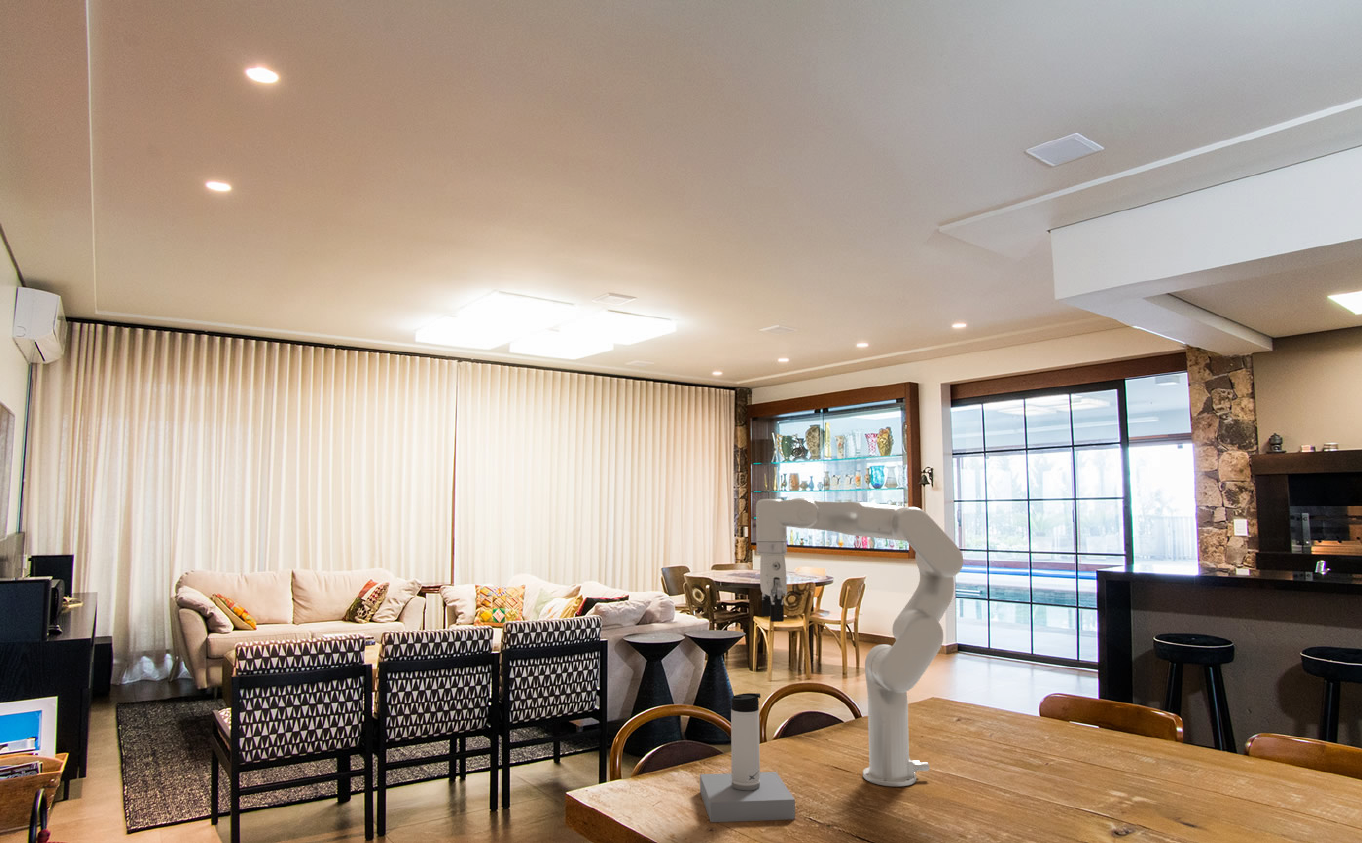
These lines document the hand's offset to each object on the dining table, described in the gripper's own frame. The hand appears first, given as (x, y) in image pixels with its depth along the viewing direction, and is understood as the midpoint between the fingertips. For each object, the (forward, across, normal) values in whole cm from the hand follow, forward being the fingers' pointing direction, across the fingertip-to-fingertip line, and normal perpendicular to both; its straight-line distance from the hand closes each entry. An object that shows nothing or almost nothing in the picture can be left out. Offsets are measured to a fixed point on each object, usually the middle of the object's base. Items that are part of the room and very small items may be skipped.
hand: (772, 618), depth 200 cm
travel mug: (+34, -16, +10) cm, 39 cm away
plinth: (+38, -16, +10) cm, 43 cm away
